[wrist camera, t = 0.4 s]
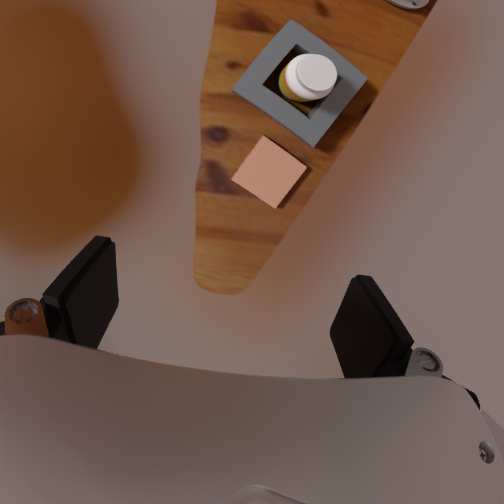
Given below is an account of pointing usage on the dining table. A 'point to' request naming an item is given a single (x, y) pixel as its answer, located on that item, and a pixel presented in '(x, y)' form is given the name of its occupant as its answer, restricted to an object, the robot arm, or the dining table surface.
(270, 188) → the mat
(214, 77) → the dining table surface
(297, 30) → the frame
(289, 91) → the supplement bottle
